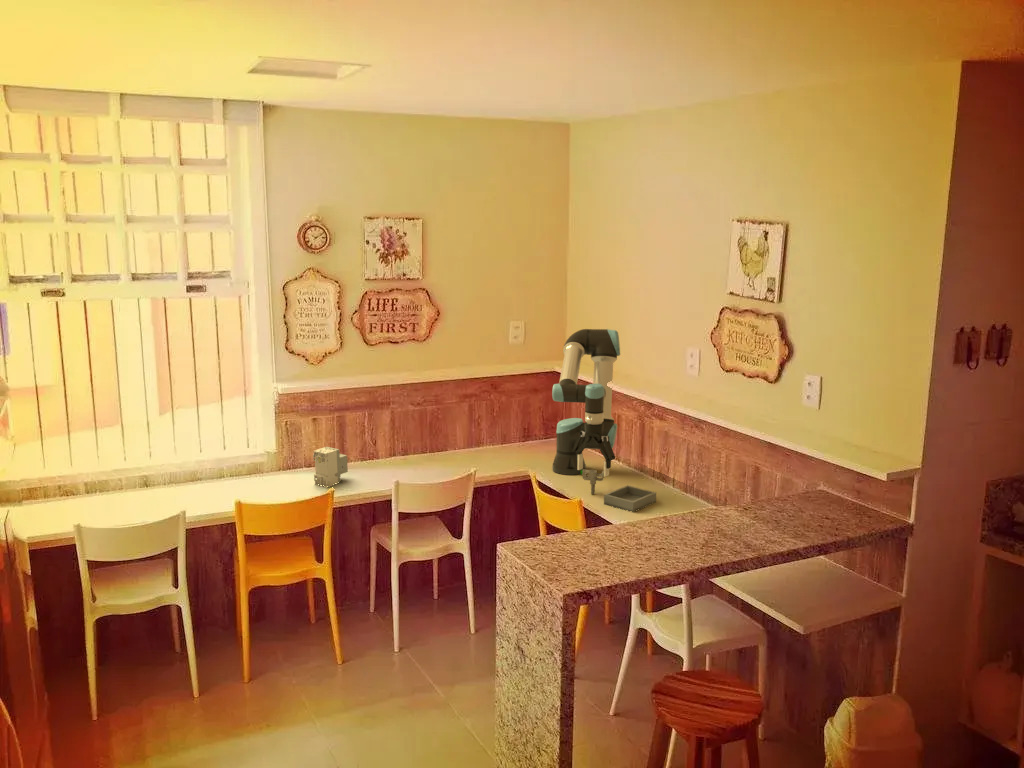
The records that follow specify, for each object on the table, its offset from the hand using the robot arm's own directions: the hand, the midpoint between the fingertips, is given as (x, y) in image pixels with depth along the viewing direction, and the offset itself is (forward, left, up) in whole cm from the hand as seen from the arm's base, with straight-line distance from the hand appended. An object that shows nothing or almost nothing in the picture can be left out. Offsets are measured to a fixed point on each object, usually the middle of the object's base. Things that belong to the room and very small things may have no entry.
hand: (593, 472), depth 366 cm
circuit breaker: (+63, -93, -10) cm, 113 cm away
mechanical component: (0, 0, -10) cm, 10 cm away
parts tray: (-1, +18, -9) cm, 20 cm away
